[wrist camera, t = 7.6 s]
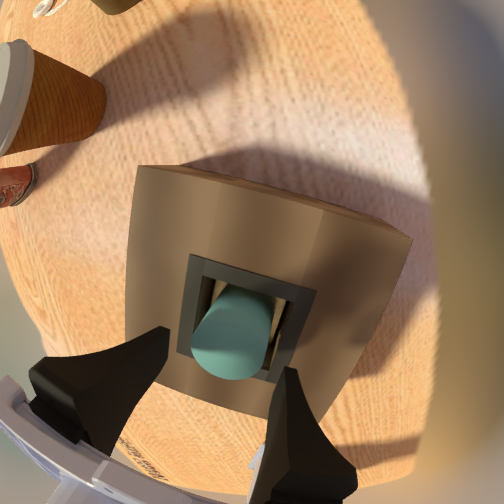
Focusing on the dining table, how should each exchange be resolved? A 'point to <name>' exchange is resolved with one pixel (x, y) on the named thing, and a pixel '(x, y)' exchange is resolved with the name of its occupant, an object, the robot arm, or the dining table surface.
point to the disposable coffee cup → (44, 100)
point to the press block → (257, 279)
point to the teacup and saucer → (46, 8)
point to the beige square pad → (276, 301)
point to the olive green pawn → (115, 5)
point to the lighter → (17, 184)
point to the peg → (234, 333)
